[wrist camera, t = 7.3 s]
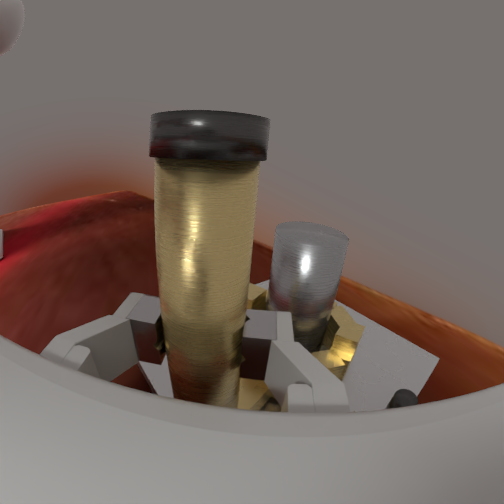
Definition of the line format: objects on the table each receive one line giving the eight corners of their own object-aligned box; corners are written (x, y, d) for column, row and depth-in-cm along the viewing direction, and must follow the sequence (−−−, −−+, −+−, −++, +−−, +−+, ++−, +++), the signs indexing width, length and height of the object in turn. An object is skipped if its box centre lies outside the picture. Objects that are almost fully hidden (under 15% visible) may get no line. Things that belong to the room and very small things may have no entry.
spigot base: (122, 336, 19) (104, 211, 16) (287, 283, 30) (300, 192, 26) (296, 558, 6) (428, 518, 2) (447, 377, 16) (501, 267, 13)
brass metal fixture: (268, 304, 23) (287, 137, 18) (361, 340, 19) (408, 158, 14) (133, 407, 12) (87, 125, 7) (264, 500, 8) (383, 117, 3)
